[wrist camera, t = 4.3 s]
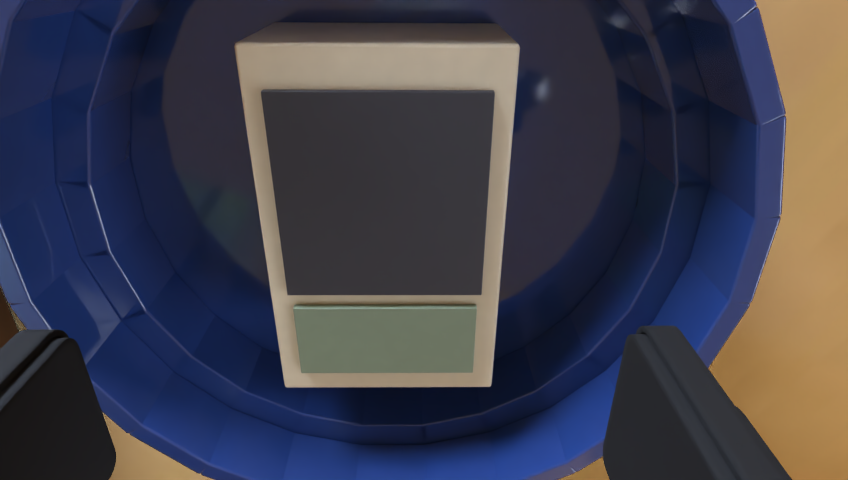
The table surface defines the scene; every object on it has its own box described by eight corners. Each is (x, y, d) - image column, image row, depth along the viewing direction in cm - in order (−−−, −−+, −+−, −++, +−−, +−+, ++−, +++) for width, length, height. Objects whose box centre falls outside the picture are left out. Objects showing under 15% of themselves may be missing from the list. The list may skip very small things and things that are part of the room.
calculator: (272, 21, 15) (229, 43, 11) (498, 22, 15) (522, 45, 11) (306, 315, 19) (282, 393, 16) (479, 315, 19) (492, 393, 16)
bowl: (-7, -181, 13) (-227, -247, 8) (763, -173, 13) (939, -235, 9) (162, 399, 21) (96, 516, 17) (626, 397, 22) (680, 512, 17)
